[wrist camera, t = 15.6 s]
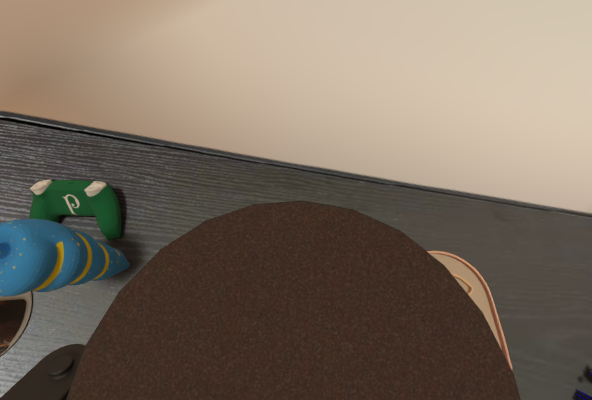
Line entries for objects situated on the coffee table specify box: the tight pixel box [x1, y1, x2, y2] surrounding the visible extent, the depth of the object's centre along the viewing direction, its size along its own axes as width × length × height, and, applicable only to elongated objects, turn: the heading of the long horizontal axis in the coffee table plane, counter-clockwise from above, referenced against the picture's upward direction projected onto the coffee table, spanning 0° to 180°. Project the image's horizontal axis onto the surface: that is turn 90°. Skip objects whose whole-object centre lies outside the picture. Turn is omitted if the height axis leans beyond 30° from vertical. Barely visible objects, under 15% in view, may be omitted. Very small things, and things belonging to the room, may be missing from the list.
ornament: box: [0, 219, 130, 297], centre depth 23 cm, size 5×5×15 cm
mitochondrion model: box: [427, 251, 513, 371], centre depth 25 cm, size 23×10×5 cm, turn 178°
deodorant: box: [66, 201, 520, 400], centre depth 11 cm, size 6×6×15 cm
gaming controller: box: [30, 180, 121, 241], centre depth 30 cm, size 9×4×6 cm
